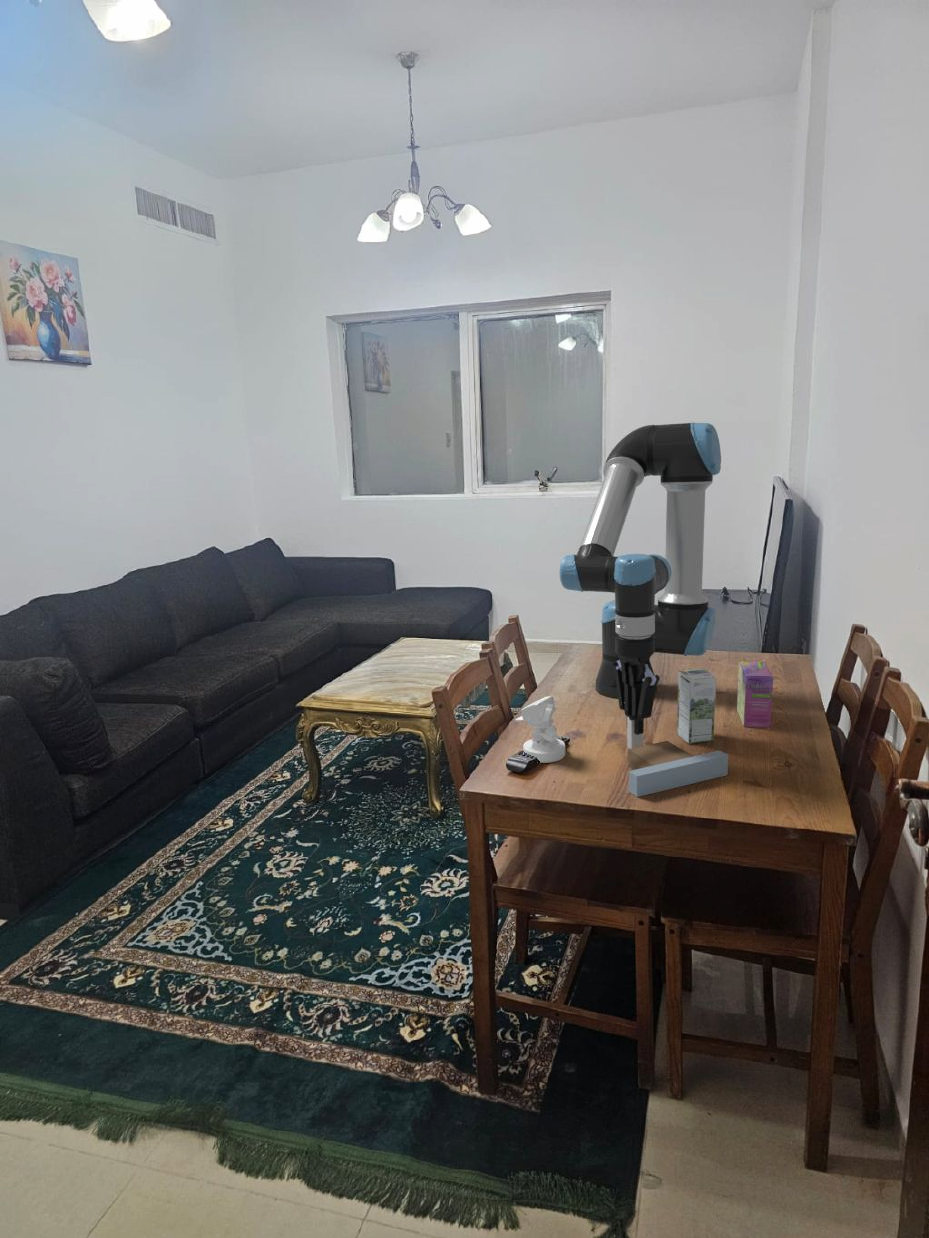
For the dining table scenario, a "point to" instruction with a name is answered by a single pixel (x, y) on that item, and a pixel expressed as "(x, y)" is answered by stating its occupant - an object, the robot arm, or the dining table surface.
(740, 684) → the box
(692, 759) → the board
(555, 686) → the dining table surface
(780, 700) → the dining table surface
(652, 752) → the block
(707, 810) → the dining table surface
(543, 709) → the character figurine
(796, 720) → the dining table surface
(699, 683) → the syrup box
